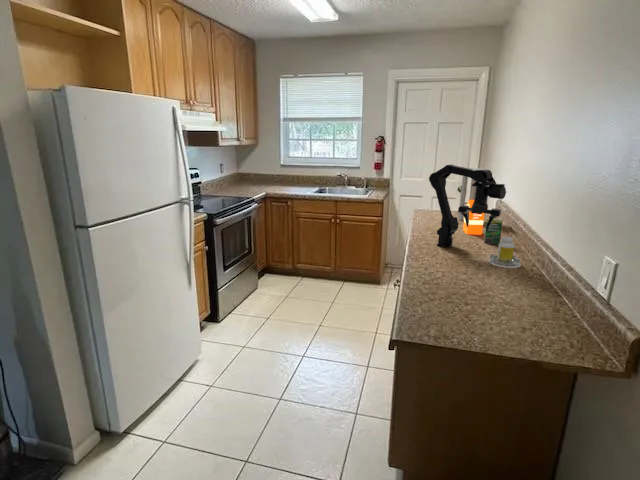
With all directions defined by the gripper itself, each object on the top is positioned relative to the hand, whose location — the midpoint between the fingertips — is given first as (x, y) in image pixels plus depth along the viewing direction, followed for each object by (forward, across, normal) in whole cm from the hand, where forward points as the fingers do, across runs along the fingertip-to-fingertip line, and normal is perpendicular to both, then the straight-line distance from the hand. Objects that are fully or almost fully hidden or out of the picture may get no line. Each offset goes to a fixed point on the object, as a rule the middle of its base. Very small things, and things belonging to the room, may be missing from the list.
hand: (477, 228), depth 190 cm
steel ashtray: (+13, +15, -8) cm, 21 cm away
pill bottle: (+13, +15, -8) cm, 21 cm away
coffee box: (+13, +4, +25) cm, 29 cm away
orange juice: (+13, -10, +43) cm, 46 cm away
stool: (+13, -18, +75) cm, 78 cm away
